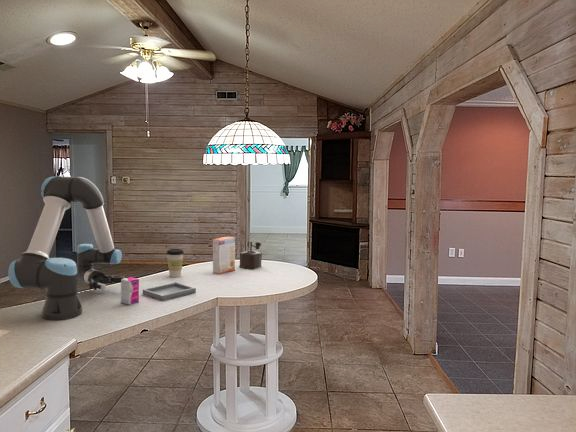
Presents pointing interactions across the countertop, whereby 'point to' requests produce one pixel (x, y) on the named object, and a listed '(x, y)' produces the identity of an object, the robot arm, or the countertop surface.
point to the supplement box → (129, 291)
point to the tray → (169, 291)
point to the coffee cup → (175, 262)
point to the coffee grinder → (251, 257)
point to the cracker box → (223, 255)
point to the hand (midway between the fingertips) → (118, 285)
